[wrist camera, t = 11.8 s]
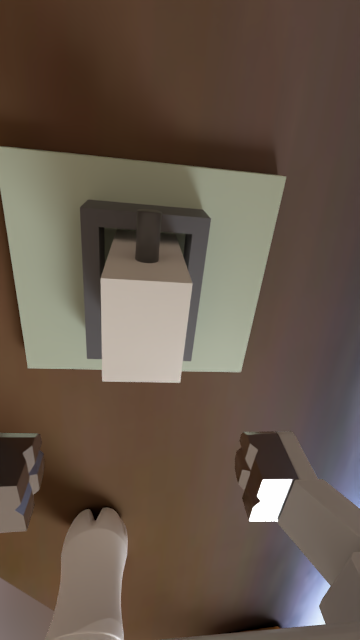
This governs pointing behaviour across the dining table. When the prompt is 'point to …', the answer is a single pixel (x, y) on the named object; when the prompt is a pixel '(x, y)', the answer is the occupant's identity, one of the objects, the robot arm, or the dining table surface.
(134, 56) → the dining table surface
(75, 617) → the water bottle
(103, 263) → the socket board
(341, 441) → the dining table surface
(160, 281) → the keyed plug
